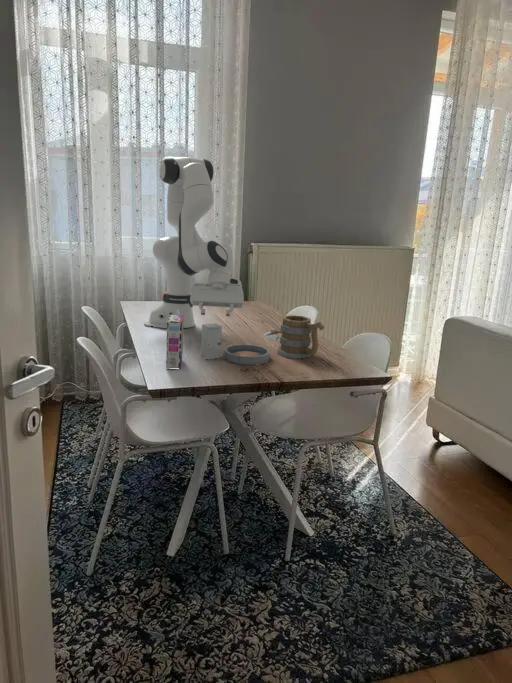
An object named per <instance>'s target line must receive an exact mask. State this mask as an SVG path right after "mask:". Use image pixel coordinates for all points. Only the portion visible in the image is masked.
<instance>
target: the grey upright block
mask: <svg viewBox="0 0 512 683" xmlns="http://www.w3.org/2000/svg"><path fill="white" fill-rule="evenodd" d="M222 327H223V326H222V325H221V324H218V323H204V324H202V325H201V346H200V357H201V358H202V357H203V358H202V359H204V358H205V359H204V360H206V359H208V360H214V359H215V358H217V359H220V358H221V350H222V329H223V328H222ZM215 360H216V359H215Z"/></svg>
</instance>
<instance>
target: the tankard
mask: <svg viewBox="0 0 512 683" xmlns="http://www.w3.org/2000/svg"><path fill="white" fill-rule="evenodd" d="M324 328H325V326H324V324H323V323H322V322H321V321H319V322H315V323H311V317H307V316H303V315H296V314H293V315H291V314H290V315H285V316H284V317H283V318H282V322H281V324H280V330H281V331H282V332H281V335H280V336H279V338H280V341H279V344H281V345H280V346H278V348H277V351H276V352H277V354H278V355H279V354H280V355H279V356H281V355H282V357H284V358H286V357H289V358H288V359H295V358H299V359H298V360H301V358H303V359H308V358H311V356H315V354H316V353H317V351H318V348H319V340H318V329H319V331H323V330H324ZM310 335H311V336H310ZM311 343H312V347H311V348H310V346H311ZM307 357H308V358H307Z"/></svg>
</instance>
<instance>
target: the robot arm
mask: <svg viewBox="0 0 512 683" xmlns="http://www.w3.org/2000/svg"><path fill="white" fill-rule="evenodd" d="M214 173H215V172H214V166H213V164H212V162H211V161H210V160H208V159H206V158H200V157H199V158H198V157H193V156H166V157H163V158H162V160H161V161H160V164H159V176H160V179H161V180H162V182H163V183H165V184H168V186H167V194H166V198H167V199H166V209H167V210H166V211H167V216H166V217H167V222H168V224H169V225H170V226H172V227H173V228H174V229H175V231H176V234H177V236H164V237H160V238H157V239H156V240H155V241H154V243H153V245H152V253H153V257H154V258H155V260H157V261H158V262H159V263H160V264H161V265H162V267H163V268H164V271H165V274H166V284H167V286H166V288H167V289H166V291H165V292H164V293H163V294H162V297H161V298H162V301H161V302H159V304H157V305H156V306H154V307H153V308H152V309H151V310H150V313H149V318H146V319H145V320H144V321H143V325H144V324H145V325H146V326H145V325H144V326H145V327H151V326H153V328H161V329H167V321H168V319H169V317H170V315H183V316H184V318H183V329H187V328H192V327H195V326H196V323H195V322H196V321H195V317H194V310H193V307H194V306H195V307H196V306H198V308H199V310H200V316H205V315H206V308H204V307H214V308H215V307H216V308H229V309H226V312H225V317H231V314H232V312H234V309H236V308H237V309H242V308H243V307H244V306H245V305H244V303H245V301H244V300H245V299H244V290H243V285H242V281H241V280H240V279H236V278H233V277H232V272H233V264H234V262H233V254H232V251H231V250H230V249H229V248H227V247H225V246H222V245H221V244H219V243H218V242H216V241H214V240H209V241H205V240H204V238H202V237H201V235H200V234H199V233H198V230H197V228H196V225H197V223H198V222H199V221H200V220H201V219H203V217H204V216H205V215H206V214H208V213H209V211H210V210H211V209H212V207H213V205H214V191H213V186H212V185H213V184H212V181H213V179H214ZM206 270H208V271H209V274H208V280H207V283H195V284H194V283H193V282H194V281H193V280H194V279H193V276H194V275H197V274H198V273H200V272H202V271H206Z"/></svg>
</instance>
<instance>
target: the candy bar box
mask: <svg viewBox="0 0 512 683" xmlns="http://www.w3.org/2000/svg"><path fill="white" fill-rule="evenodd" d="M183 318H184V316H183V315H170V317H169V319H168V321H167V328H166V358H165V359H166V360H165V363H166V365H165V366H166V367H165V369H166V368H179V369H180V370H181V366H182V361H183V348H184V347H183V343H184V342H183V340H184V328H183Z"/></svg>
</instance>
